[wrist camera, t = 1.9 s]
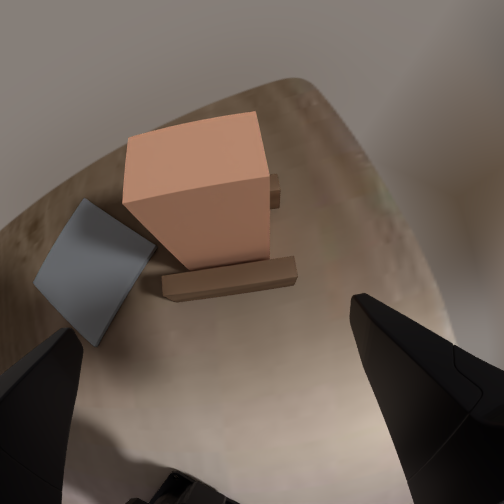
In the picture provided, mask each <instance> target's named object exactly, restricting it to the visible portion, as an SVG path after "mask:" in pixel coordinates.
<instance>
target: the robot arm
mask: <svg viewBox="0 0 504 504" xmlns="http://www.w3.org/2000/svg"><path fill="white" fill-rule="evenodd" d="M350 324H351V328H352V331H353V334H354V338H355V341H356V344H357V348H358V351H359V355H360V358H361V361H362V365H363V367H364V370H365V373H366V375H367V377H368V380H369V382H370V385H371V387H372V389H373V392H374V394H375V397H376V399H377V402H378V404H379V407H380V409H381V412H382V414H383V417H384V420H385V422H386V425H387V427H388V430H389V433H390V435H391V438H392V441H393V443H394V446H395V449H396V451H397V454H398V457H399V460H400V463H401V465H402V468H403V471H404V474H405V477H406V480H407V483H408V486H409V489H410V492H411V496H412V499H413V502H414V504H504V371H503V370H501V369H499V368H497V367H495V366H493V365H491V364H489V363H487V362H485V361H483V360H481V359H479V358H477V357H475V356H473V355H472V354H470V353H468V352H466V351H465V350H463V349H461V348H460V347H458V346H456V345H453V344H452V343H451V342H449V341H448V340H446V339H444V338H442V337H441V336H439V335H437V334H436V333H434V332H432V331H431V330H429V329H427V328H425V327H424V326H422V325H420V324H419V323H417V322H415V321H413V320H412V319H410V318H408V317H406V316H405V315H403V314H401V313H399V312H398V311H396V310H394V309H392V308H391V307H389V306H387V305H385V304H384V303H382V302H380V301H378V300H377V299H375V298H373V297H371V296H370V295H368V294H366V293H362V294H356V295H353V296H352V298H351V306H350ZM82 358H83V346H82V344H81V342H80V341H79V339H78V337H77V335H76V334H75V332H74V330H73V329H72V328H61V329H59V330H58V331H57V332H55V333H54V334H53V335H51V336H50V337H49V338H47V339H46V340H45V341H44V342H42V343H41V344H40V345H38V346H37V347H36V348H34V349H33V350H32V351H31V352H29V353H28V354H27V355H25V356H24V357H23V358H22V359H20V360H19V361H18V362H17V363H15V364H14V365H13V366H12V367H10V368H9V369H8V370H7V371H5V372H4V373H3V374H2V375H0V504H62V486H63V475H64V466H65V458H66V451H67V444H68V437H69V431H70V426H71V420H72V415H73V410H74V405H75V400H76V396H77V391H78V385H79V377H80V370H81V364H82ZM174 475H177V476H178V477H179V478H176V477H174ZM125 504H239V503H237V502H235V501H232V500H230V499H228V498H226V497H225V496H224V495H223V494H221V493H219V492H217V491H215V490H213V489H211V488H209V487H207V486H205V485H204V484H202V483H200V482H196V481H194V480H193V479H191V478H189V477H187V476H186V475H184V474H182V473H181V472H179V471H173V472H171V474H170V475H169V476H168V478H167V479H166V480H165V482H164V483H163V484H162V486H161V487H160V489H159V490H158V491H157V493H156V494H155V495H154V497H153V498H152V499H151V501H150V502H149V503H147V502H145V501H143V500H141V499H139V498H132V499H130V500H129V501H128V502H126V503H125Z"/></svg>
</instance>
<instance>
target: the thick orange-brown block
mask: <svg viewBox="0 0 504 504" xmlns="http://www.w3.org/2000/svg"><path fill="white" fill-rule="evenodd" d="M122 204H123V205H124V206H125V207H126V208H127V209H128V210H129V211H130V212H131V213H132V214H133V215H134V216H135V217H136V218H137V219H138V220H139V221H140V222H141V223H142V224H143V225H144V226H145V227H146V228H147V229H148V230H149V231H150V232H151V233H152V234H153V235H154V236H155V237H156V238H157V239H158V240H159V241H160V242H161V243H162V244H163V245H164V246H165V247H166V248H167V249H168V250H169V251H170V252H171V253H172V254H173V255H174V256H175V257H176V258H177V259H178V260H179V261H180V262H181V263H182V264H183V265H184V266H185V267H186V268H187V269H188V270H189V271H190V272H191V271H198V270H205V269H212V268H218V267H225V266H231V265H238V264H245V263H251V262H258V261H264V260H270V175H269V171H268V166H267V161H266V156H265V152H264V147H263V142H262V138H261V133H260V129H259V124H258V120H257V115H256V111H255V112H247V113H240V114H234V115H227V116H221V117H216V118H210V119H205V120H199V121H194V122H190V123H185V124H180V125H176V126H171V127H167V128H163V129H159V130H155V131H151V132H147V133H143V134H139V135H136V136H132V137H129V138H128V146H127V154H126V164H125V174H124V187H123V202H122Z"/></svg>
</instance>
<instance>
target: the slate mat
mask: <svg viewBox="0 0 504 504" xmlns="http://www.w3.org/2000/svg"><path fill="white" fill-rule="evenodd" d="M156 249H157V246H156V245H154V244H153V243H151V242H150V241H148V240H147V239H145V238H143V237H142V236H140V235H139V234H137V233H136V232H134V231H133V230H131V229H130V228H128V227H127V226H125V225H124V224H122V223H121V222H119V221H118V220H116V219H115V218H113V217H112V216H110V215H109V214H107V213H106V212H104V211H103V210H101V209H100V208H98V207H97V206H95V205H94V204H93V203H91V202H90V201H88V200H87V199H85V198H84V199H83V200H82V202H81V203H80V205H79V206H78V208H77V209H76V211H75V212H74V213H73V215H72V217H71V218H70V220H69V221H68V223H67V224H66V226H65V227H64V229H63V231H62V232H61V234H60V235H59V237H58V239H57V240H56V242H55V244H54V245H53V247H52V249H51V250H50V252H49V254H48V256H47V257H46V259H45V261H44V263H43V265H42V266H41V268H40V270H39V272H38V274H37V276H36V278H35V280H34V282H33V284H34V285H35V286H36V287H37V288H38V289H39V291H40V292H41V293H42V294H43V295H44V296H45V297H46V299H47V300H48V301H49V302H50V303H51V304H52V305H53V306H54V307H55V308H56V309H57V311H58V312H59V313H60V314H61V315H62V316H63V317H64V318H65V319H66V320H67V321H68V322H69V323H70V324H71V325H72V326H73V327H74V328H75V329H76V330H77V331H78V332H79V333H80V334H81V335H82V336H83V337H84V338H85V339H86V340H88V341H89V342H90V343H91V344H92V345H93V346H94V347H97V346H98V344H99V343H100V341H101V339H102V337H103V335H104V334H105V332H106V330H107V328H108V327H109V325H110V323H111V321H112V320H113V318H114V316H115V314H116V313H117V311H118V309H119V308H120V306H121V304H122V303H123V301H124V299H125V298H126V296H127V294H128V293H129V291H130V289H131V288H132V286H133V284H134V283H135V281H136V280H137V278H138V276H139V275H140V273H141V272H142V270H143V269H144V267H145V265H146V264H147V262H148V261H149V259H150V258H151V256H152V255H153V253H154V252H155V250H156Z"/></svg>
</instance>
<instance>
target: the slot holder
mask: <svg viewBox="0 0 504 504" xmlns="http://www.w3.org/2000/svg"><path fill="white" fill-rule="evenodd" d="M279 206H280V185H279V180H278V176H277V174H271V175H270V209H275V208H279ZM297 277H298V274H297V269H296V263H295V258H294V256H290V257H283V258H277V259H271V260H264V261H258V262H251V263H245V264H238V265H231V266H225V267H218V268H212V269H205V270H198V271H191V272H185V273H178V274H171V275H164V276H162V291H163V296H164V297H166V298H168V299H170V300H172V301H174V302H183V301H191V300H199V299H206V298H214V297H221V296H228V295H235V294H242V293H248V292H255V291H262V290H268V289H274V288H281V287H287V286H293V285H294V284H295V282H296V280H297Z"/></svg>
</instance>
